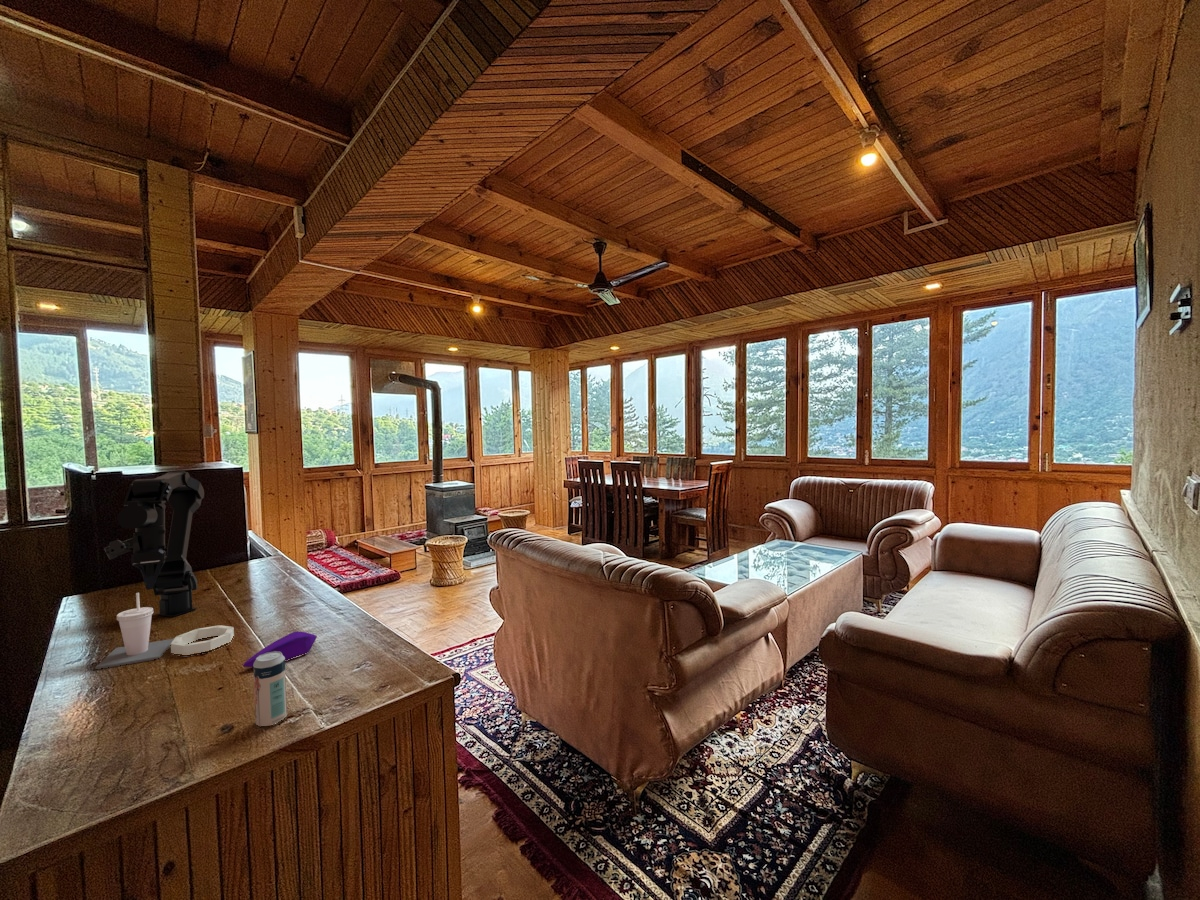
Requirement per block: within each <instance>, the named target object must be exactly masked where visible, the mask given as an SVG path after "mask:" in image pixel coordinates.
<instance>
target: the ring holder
mask: <svg viewBox="0 0 1200 900" xmlns="http://www.w3.org/2000/svg"><path fill="white" fill-rule="evenodd" d="M211 636H218V637H213V638H210V639H208V638H207V637H211ZM233 636H234V637H235V628H234V626H230V625H229V626H228V625H221V624H220V625H212V626H206V627H201V628H200V627H199V628H195V629H193V630H190V631H188V632H184V633H182V634H179V635H176V636H175V637H174V638H173V639H174V640H173V641H172V643H171V646H170V654H171V653H174V654H182V655H190V654H194V653H201V652H205V651H209V650H212V649H215V648H217V647H220V646H221V645H224V644H226V643H229V642H231V640H232V638H233ZM202 638H207V639H208V640H203V639H202ZM198 639H201V640H203V641H199V640H198ZM233 639H234V638H233ZM196 640H197V641H196ZM193 641H194V642H193ZM232 641H233V640H232ZM191 642H192V643H191ZM188 643H189V644H188ZM231 643H232V642H231ZM174 654H173V655H174Z"/></svg>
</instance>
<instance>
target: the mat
mask: <svg viewBox="0 0 1200 900" xmlns="http://www.w3.org/2000/svg"><path fill="white" fill-rule="evenodd" d="M174 639H175V638H169V639H163V640H158V641H149V644H148V650H147V651H146V652H143V653H140V654H137V655H127V654H126V649H125V646H120V647H119V646H118V647H115V648H114V649H113V650H112V651H111V652H110V653H109V654H108V655H107V656H106V657H104V659H103V660H100V662H99V663H98V664H97V665H96V666H95V667H94V668H95V669H98V670H102V669H101V668H103V669H109V668H115V667H120V665H121V666H126V664H127V665H131V664H136V663H137V664H138V663H143V662H149V661H150V662H151V661H155V660H154V659H156V660H159V659H158V658H160V657H161V656H162V657H163V655H164V654H165V653H166V652H167V651H168V650H169V649H170V648H171V646H170V645H171V643H172V641H173V640H174ZM166 650H167V651H166ZM165 651H166V652H165ZM164 652H165V653H164ZM163 653H164V654H163ZM162 657H161V658H162ZM161 658H160V659H161ZM108 667H109V668H108Z"/></svg>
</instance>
